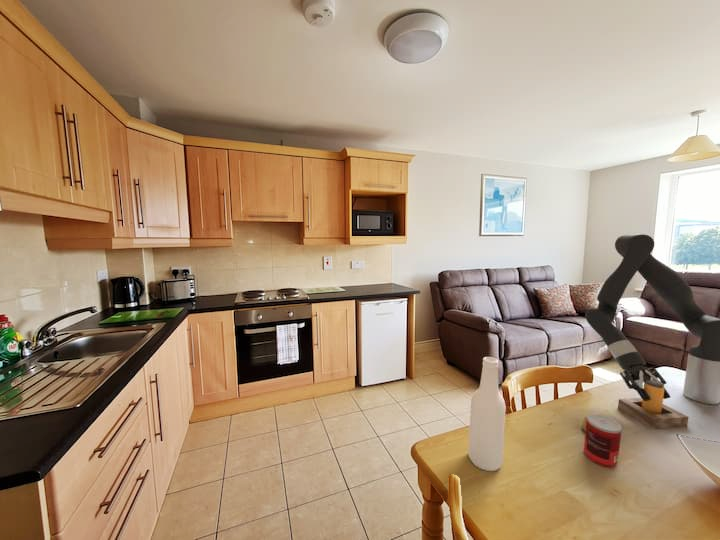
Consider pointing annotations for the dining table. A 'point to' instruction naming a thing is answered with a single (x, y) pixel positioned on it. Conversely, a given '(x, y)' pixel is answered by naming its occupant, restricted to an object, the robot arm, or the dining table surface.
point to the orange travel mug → (653, 396)
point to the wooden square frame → (655, 421)
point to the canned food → (602, 440)
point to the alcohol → (487, 420)
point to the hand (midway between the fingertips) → (657, 399)
